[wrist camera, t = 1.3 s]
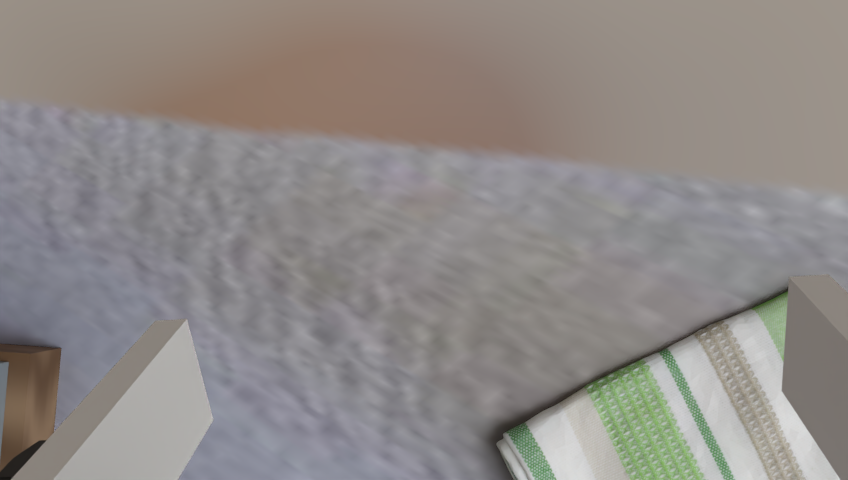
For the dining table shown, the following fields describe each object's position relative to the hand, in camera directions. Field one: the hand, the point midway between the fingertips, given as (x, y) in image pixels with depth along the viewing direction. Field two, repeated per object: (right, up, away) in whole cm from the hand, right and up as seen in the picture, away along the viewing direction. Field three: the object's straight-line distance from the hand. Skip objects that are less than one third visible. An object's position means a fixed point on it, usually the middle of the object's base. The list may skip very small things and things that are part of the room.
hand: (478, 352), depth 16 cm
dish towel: (+17, -12, +31) cm, 38 cm away
